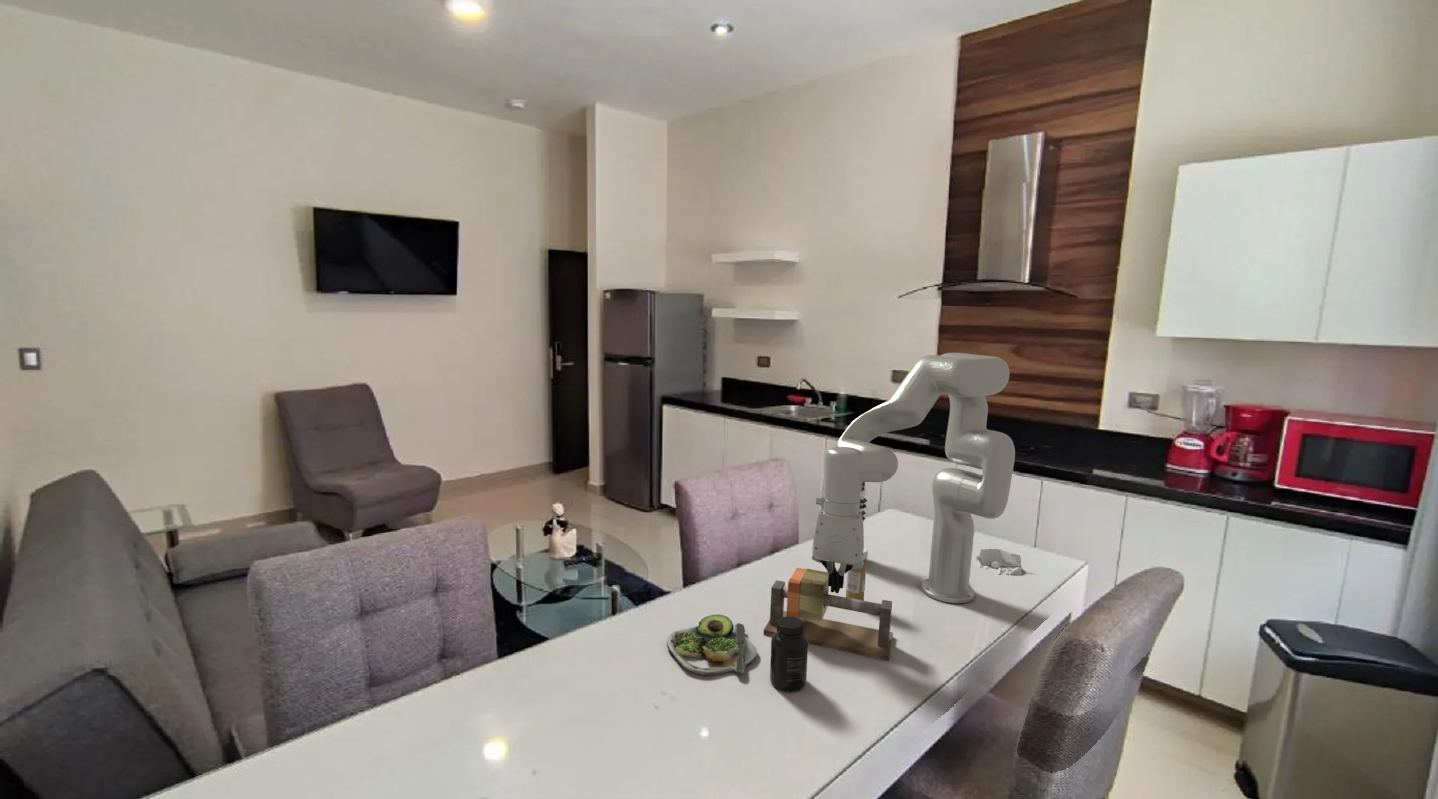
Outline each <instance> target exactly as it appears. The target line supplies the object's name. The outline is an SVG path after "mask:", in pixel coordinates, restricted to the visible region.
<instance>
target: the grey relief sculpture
mask: <svg viewBox="0 0 1438 799" xmlns="http://www.w3.org/2000/svg"><path fill="white" fill-rule="evenodd" d="M975 559H976V562H977V567H978V568H980V569H981V570H982V571H987V570H989V568H992V569H997V571H998V572H997V575H1001V573H1002V572H1003V573H1004V572H1005V571H1006V572H1005V575H1007V576H1014V575H1015V576H1017V575H1023V574H1022V568H1023V567H1022V558H1021V555H1020V554H1016V553H1012V552H1011V553H1010V552H1008V551H1005V550H1002V549H999V548H985V549H982V548H981V549H980V551H979V552H978V553H977V554H976V557H975ZM1002 566H1005V567H1002ZM984 567H985V568H984ZM1007 567H1010V569H1008V568H1007Z"/></svg>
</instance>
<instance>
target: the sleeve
mask: <svg viewBox="0 0 1438 799" xmlns="http://www.w3.org/2000/svg"><path fill="white" fill-rule="evenodd" d="M806 569H807V570H806V571H805V573H804V575H803V577H802V579H801V580H800V593H799V611H798V617H802V618H807V619H812V620H817V621H822V619H824V617H825V614H826V612H827V610H828V607H829V606H825V605H824V596H825V594H829V591H830V586H828V580H829V573H828V572H827V571H822V570H818V569H817V570H816V569H811V568H806Z"/></svg>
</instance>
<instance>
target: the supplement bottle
mask: <svg viewBox="0 0 1438 799" xmlns="http://www.w3.org/2000/svg"><path fill="white" fill-rule="evenodd" d="M770 642H771V643H770V665H769V666H770V669H769V680H770V683H771V685H772V686H773V687H774V688H776V689H778V690H780V691H782V692H787V693H788V692H790V693H791V692H792V693H794V692H798V691H800V690H802V689H803V688H804V687H806V684H807V677H808V676H807V675H808V674H807V673H808V657H809V656H808V655H809V654H808V653H809V652H808V651H809V644H808V640H807V638H806V637H805V635H804V634H803V622H802V621H801V620H800V619H798V618H796V617H788V616H787V617H782V618H780V619H778V622H777V632H776V633H775V634H774V635H773V636H771V639H770Z"/></svg>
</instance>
